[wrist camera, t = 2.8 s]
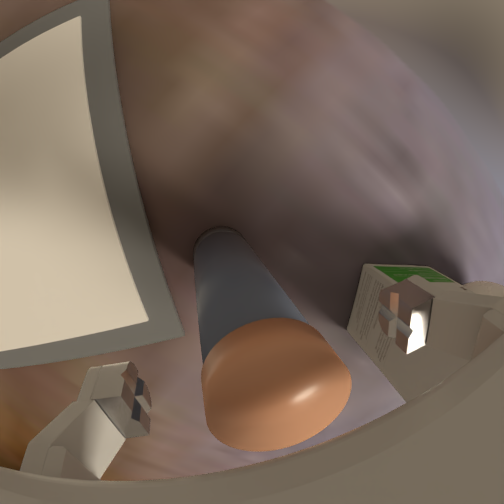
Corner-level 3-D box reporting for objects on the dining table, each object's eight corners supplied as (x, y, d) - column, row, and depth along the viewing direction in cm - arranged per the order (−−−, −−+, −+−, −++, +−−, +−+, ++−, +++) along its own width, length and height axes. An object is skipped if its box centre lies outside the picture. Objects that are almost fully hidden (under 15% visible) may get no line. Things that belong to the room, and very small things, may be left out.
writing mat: (184, 331, 20) (184, 338, 19) (-1, 365, 17) (-5, 371, 17) (109, -8, 12) (106, -13, 11) (-71, 106, 9) (-76, 106, 8)
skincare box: (427, 264, 23) (559, 340, 9) (408, 327, 25) (515, 418, 11) (358, 262, 22) (523, 374, 7) (340, 335, 23) (454, 468, 9)
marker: (254, 271, 20) (349, 423, 7) (200, 286, 19) (229, 462, 7) (242, 218, 19) (351, 327, 6) (185, 233, 18) (183, 379, 6)
